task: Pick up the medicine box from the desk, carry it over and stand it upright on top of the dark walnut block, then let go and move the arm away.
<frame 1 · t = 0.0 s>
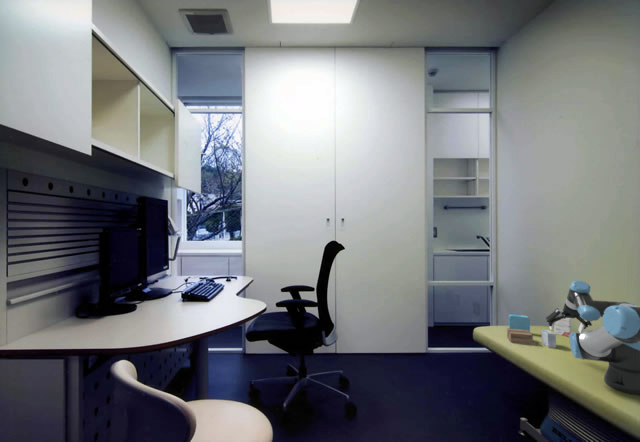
hand: (565, 330, 174), 15 cm above the table, tool tilted 35°, fingers open, 13 cm apart
ink cartridge box: (562, 334, 211), on the table
data package: (519, 333, 215), on the table
medicine box: (548, 346, 191), on the table
walnut block: (519, 340, 199), on the table
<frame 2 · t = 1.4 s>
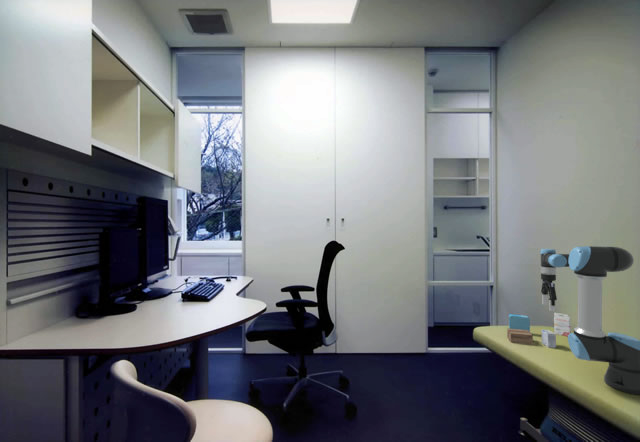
hand: (548, 307, 191), 24 cm above the table, tool pointing down, fingers open, 13 cm apart
nothing on the table moved.
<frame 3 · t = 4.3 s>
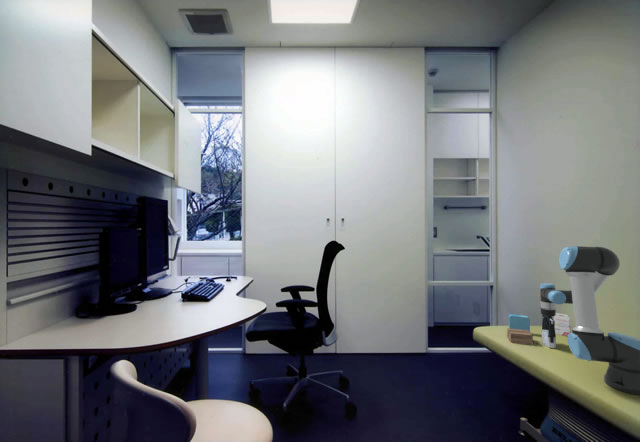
hand: (548, 345, 191), 0 cm above the table, tool pointing down, fingers closed on medicine box, 8 cm apart
medicine box: (548, 345, 191), on the table, touching gripper
everything else where it was.
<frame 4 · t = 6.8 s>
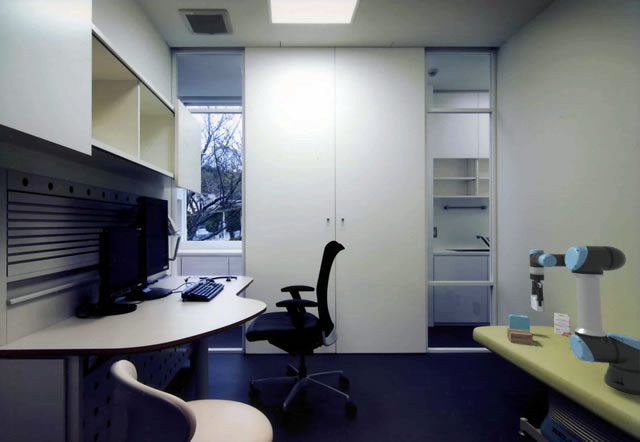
hand: (537, 309, 195), 22 cm above the table, tool pointing down, fingers closed on medicine box, 8 cm apart
medicine box: (537, 310, 195), point 21 cm above the table, touching gripper
everything else where it was.
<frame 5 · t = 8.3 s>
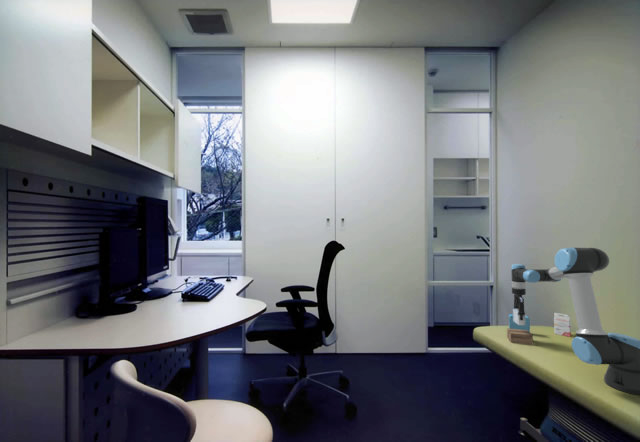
hand: (519, 322, 199), 12 cm above the table, tool pointing down, fingers closed on medicine box, 8 cm apart
medicine box: (519, 323, 199), point 11 cm above the table, touching gripper
everything else where it was.
when the fingers open (8 cm above the table, at t = 9.5 s): medicine box drops 2 cm, resting on walnut block.
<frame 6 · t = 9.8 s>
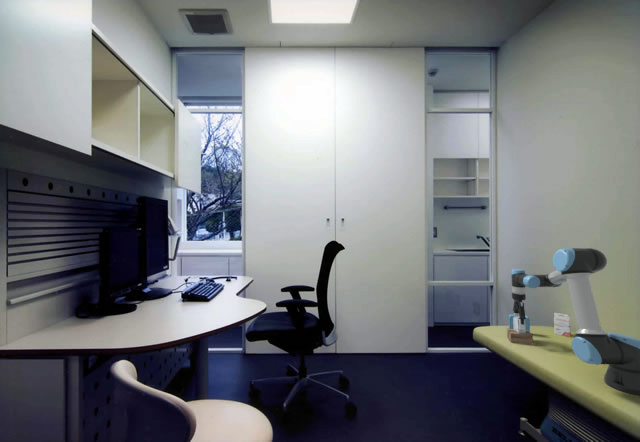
hand: (519, 326, 199), 10 cm above the table, tool pointing down, fingers open, 12 cm apart
medicine box: (519, 331, 199), point 6 cm above the table, touching walnut block
everything else where it was.
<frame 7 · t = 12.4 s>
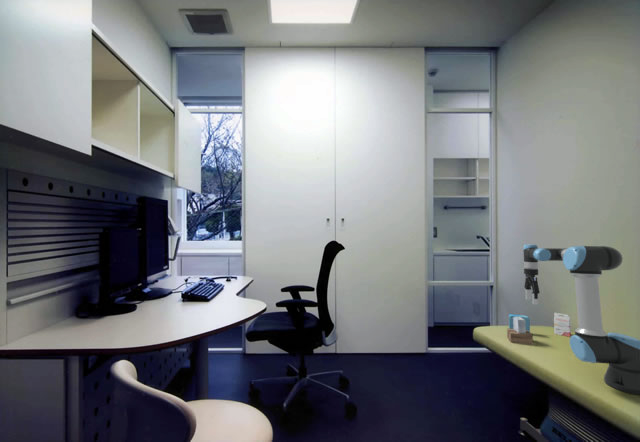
hand: (531, 301, 196), 26 cm above the table, tool pointing down, fingers open, 13 cm apart
nothing on the table moved.
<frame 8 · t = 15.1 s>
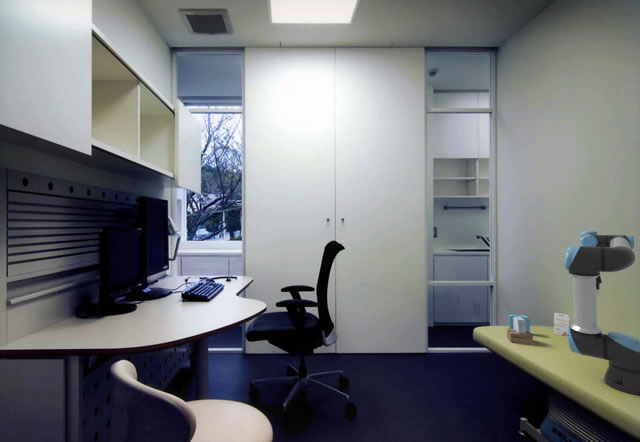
hand: (590, 292, 183), 35 cm above the table, tool pointing down, fingers open, 13 cm apart
nothing on the table moved.
at the end: medicine box inside the target area on the walnut block (0.1 cm from its centre), point 5.8 cm above the walnut block's base; medicine box tilted 0°; the gripper is holding nothing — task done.
